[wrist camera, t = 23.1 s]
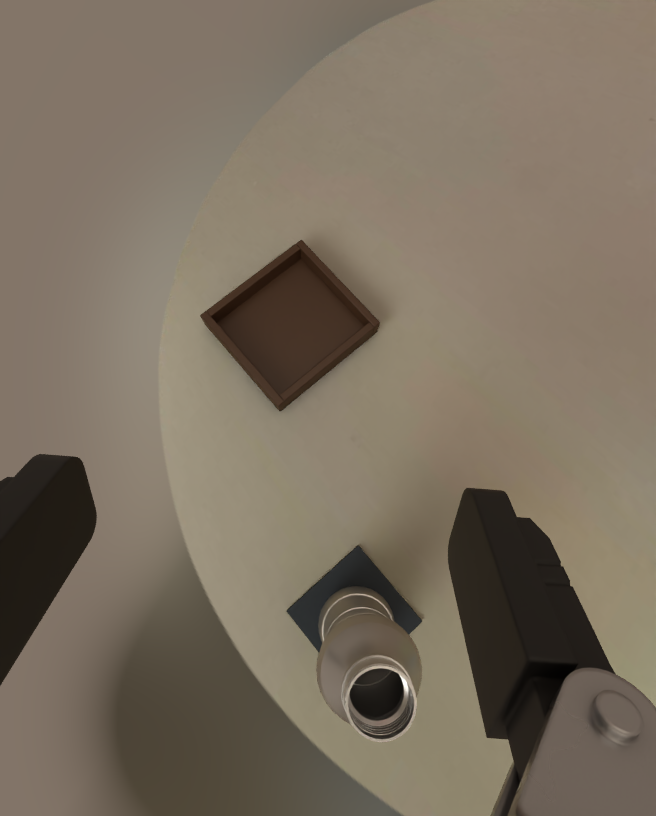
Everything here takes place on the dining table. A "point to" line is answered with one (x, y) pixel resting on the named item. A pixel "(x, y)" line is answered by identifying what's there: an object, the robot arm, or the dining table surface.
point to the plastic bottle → (367, 664)
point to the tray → (290, 324)
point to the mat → (346, 574)
